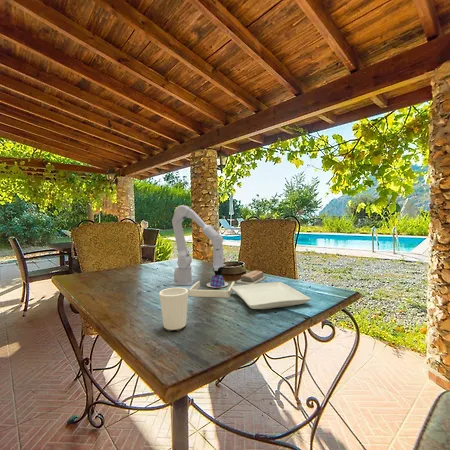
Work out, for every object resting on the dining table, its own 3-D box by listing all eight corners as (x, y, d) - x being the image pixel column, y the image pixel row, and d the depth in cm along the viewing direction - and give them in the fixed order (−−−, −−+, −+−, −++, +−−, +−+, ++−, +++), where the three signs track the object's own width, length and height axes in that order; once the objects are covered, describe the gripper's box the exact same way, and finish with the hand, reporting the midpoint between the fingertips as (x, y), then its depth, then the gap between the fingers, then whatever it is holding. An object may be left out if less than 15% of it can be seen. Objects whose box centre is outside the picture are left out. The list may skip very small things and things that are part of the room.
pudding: (232, 284, 142) (232, 274, 142) (219, 290, 132) (219, 279, 132) (215, 281, 149) (215, 272, 149) (201, 286, 139) (201, 277, 139)
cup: (188, 333, 85) (187, 295, 85) (158, 334, 85) (156, 296, 84) (190, 320, 95) (188, 286, 95) (162, 322, 94) (161, 287, 94)
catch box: (188, 296, 123) (188, 290, 123) (198, 286, 140) (198, 280, 140) (229, 297, 120) (229, 291, 120) (234, 287, 137) (234, 281, 136)
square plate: (249, 314, 99) (249, 304, 99) (230, 293, 125) (229, 285, 125) (311, 306, 106) (311, 297, 106) (280, 288, 132) (280, 280, 132)
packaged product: (251, 269, 159) (266, 270, 154) (251, 276, 159) (266, 278, 154) (236, 275, 144) (252, 277, 139) (236, 283, 144) (252, 286, 139)
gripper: (222, 259, 137) (223, 284, 137) (227, 254, 151) (227, 277, 151) (209, 259, 138) (210, 284, 138) (215, 254, 152) (216, 277, 153)
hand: (218, 280), depth 145 cm, fingers closed
